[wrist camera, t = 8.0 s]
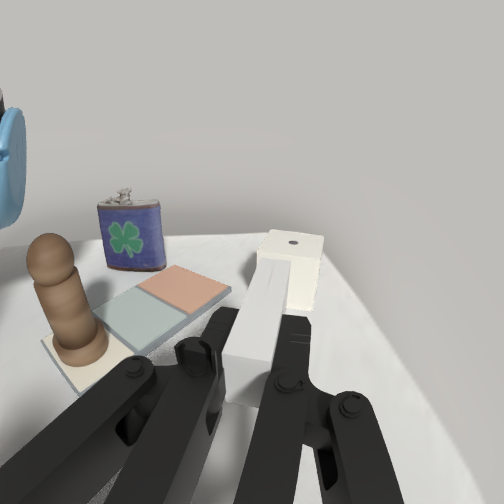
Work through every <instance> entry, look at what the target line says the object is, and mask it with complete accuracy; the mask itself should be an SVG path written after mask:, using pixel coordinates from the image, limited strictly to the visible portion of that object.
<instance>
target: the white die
mask: <svg viewBox="0 0 504 504" xmlns="http://www.w3.org/2000/svg"><path fill="white" fill-rule="evenodd" d="M323 240H324V236H320V235H312V234H305V233H297V232H289V231H281V230H273V229H271V230H270V232H269V233H268V235H267V236H266V238H265V239H264V241H263V242H262V244H261V245H260V247H259V248H258V250H257V265H258V263H259V260H260V258H269V259H278V260H287V261H291V266H290V276H289V286H288V296H287V306H286V307H287V308H293V309H299V310H305V311H312V312H313V307H314V301H315V296H316V289H317V283H318V277H319V270H320V263H321V256H322V248H323Z"/></svg>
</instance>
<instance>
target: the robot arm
mask: <svg viewBox="0 0 504 504" xmlns="http://www.w3.org/2000/svg"><path fill="white" fill-rule="evenodd" d="M25 184H26V128H25V120H24V116H23V115H22V111H21V110H20V109H19V108H13V107H11V108H9V109H8V110H5V109H4V102H3V94H2V90H1V89H0V229H2V228H5V227H8V226H10V225H12V224H13V223H14V222H15V221H16V220H17V219H18V217H19V215H20V213H21V210H22V207H23V202H24V195H25ZM290 266H291V261H287V260H278V259H269V258H260V260H259V263H258V265H257V268H256V270H255V273H254V275H253V278H252V280H251V283H250V285H249V288H248V290H247V293H246V295H245V297H244V300H243V302H242V305H241V307H240V309H235V308H228V307H220V308H219V309H218V310H217V311H215V312H214V313H213V314H212V316H211V318H210V320H209V323H208V324H207V326H206V328H205V330H204V331H203V333H202V335H201V337H189V338H185V339H183V340H181V341H179V342H178V343H177V344H176V345H175V346H174V349H175V353H176V357H177V362H178V364H177V365H171V366H153V364H152V362H151V361H150V360H149V359H148V358H147V357H144V356H141V355H133V356H130V357H127V358H125V359H123V360H122V361H121V362H119V363H118V364H117V365H116V366H115V367H114V368H113V369H111V370H110V371H109V372H108V373H107V374H106V375H105V376H103V377H102V378H101V379H100V380H99V381H98V382H97V383H95V384H94V385H93V386H92V387H91V388H90V389H89V390H87V391H86V392H85V393H84V394H83V395H82V396H81V397H80V398H78V399H77V400H76V401H75V402H74V403H73V404H72V405H70V406H69V407H68V408H67V409H66V410H65V411H64V412H63V413H61V414H60V415H59V416H58V417H57V418H56V419H55V420H53V421H52V422H51V423H50V424H49V425H48V426H47V427H46V428H44V429H43V430H42V431H41V432H40V433H39V434H38V435H36V436H35V437H34V438H33V439H32V440H31V441H30V442H29V443H27V444H26V445H25V446H24V447H23V448H22V449H21V450H20V451H18V452H17V453H16V454H15V455H14V456H13V457H12V458H11V459H9V460H8V461H7V462H6V463H5V464H4V465H3V466H2V467H1V468H0V504H87V503H88V502H89V501H90V500H91V499H92V498H93V497H94V496H95V495H96V494H97V493H98V492H99V491H100V490H101V489H102V488H103V487H104V486H105V485H106V483H107V482H108V481H109V480H110V479H111V478H112V477H113V476H114V475H115V474H116V473H117V472H118V471H119V470H120V469H121V468H122V467H123V468H122V470H121V472H120V474H119V476H118V478H117V479H116V481H115V483H114V485H113V487H112V489H111V491H110V493H109V495H108V497H107V499H106V501H105V503H104V504H190V501H191V498H192V496H193V493H194V490H195V488H196V485H197V482H198V480H199V477H200V474H201V471H202V469H203V466H204V463H205V460H206V458H207V455H208V452H209V449H210V447H211V444H212V441H213V438H214V435H215V432H216V430H217V427H218V424H219V421H220V418H221V415H222V403H223V400H224V397H225V398H226V402H229V403H234V404H239V405H245V406H250V407H256V408H259V411H258V415H257V419H256V423H255V427H254V431H253V435H252V439H251V442H250V446H249V450H248V454H247V457H246V461H245V465H244V468H243V472H242V475H241V479H240V482H239V486H238V489H237V492H236V496H235V499H234V503H233V504H293V501H294V496H295V490H296V484H297V478H298V472H299V465H300V458H301V451H302V444H305V445H307V446H310V447H312V448H313V452H314V457H315V463H316V468H317V474H318V480H319V485H320V491H321V497H322V503H323V504H404V501H403V498H402V494H401V491H400V488H399V484H398V481H397V478H396V475H395V471H394V468H393V465H392V462H391V459H390V456H389V453H388V450H387V447H386V444H385V441H384V438H383V435H382V433H381V430H380V427H379V424H378V421H377V419H376V416H375V413H374V410H373V408H372V405H371V403H370V402H369V400H368V398H366V397H365V396H364V395H362V394H360V393H357V392H354V391H345V392H342V393H339V394H337V395H336V396H334V395H331V394H328V393H325V392H323V391H321V390H319V389H318V388H316V387H315V386H314V385H313V384H312V383H311V381H310V379H309V375H308V369H309V355H310V340H311V324H310V322H309V320H308V318H307V317H303V316H294V315H286V314H285V312H286V306H287V296H288V286H289V276H290Z"/></svg>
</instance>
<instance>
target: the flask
mask: <svg viewBox="0 0 504 504" xmlns="http://www.w3.org/2000/svg"><path fill="white" fill-rule="evenodd" d="M117 192H118V193H119V194H120V197H117V198H116V199H115V198H111V197H110V198H109V199H108V200H105V201H103V202H100V203H99V204H98V206H97V210H98V216H99V223H100V229H101V234H102V240H103V247H104V253H105V257H106V262H107V267H108V268H111V269H115V270H121V271H135V272H136V271H138V272H145V271H146V272H154V271H162V270H164V269H165V267H166V257H165V251H164V242H163V235H162V226H161V215H160V204H159V201H158V200H138V201H130V195H129V193H130V192H131V189H129V188H126V189H119V190H117ZM111 199H113V200H111ZM164 265H165V267H164Z"/></svg>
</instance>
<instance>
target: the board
mask: <svg viewBox="0 0 504 504" xmlns="http://www.w3.org/2000/svg"><path fill="white" fill-rule="evenodd" d="M230 292H231V287H230V286H228V285H225V284H222V283H220V282H217V281H215V280H212V279H209V278H207V277H204V276H202V275H199V274H197V273H194V272H192V271H189V270H187V269H184V268H182V267H179V266H177V265H173V266H171V267H169V268H168V269H166V270H164V271H162V272H160V273H158V274H156V275H155V276H153V277H151V278H149V279H147V280H145V281H144V282H142V283H140V284H138V285H136V286H134V287H133V288H131V289H129V290H127V291H125V292H124V293H122V294H120V295H118V296H116V297H115V298H113V299H111V300H109V301H108V302H106V303H104V304H102V305H100V306H99V307H97V308H95V309H93V310H92V311H91V313H92V315H93V317H95V318H97V319H99V320H100V321H101V322H102V324H103V326H104V329H105V332H106V334H107V337H108V341H109V343H108V348H107V350H106V352H105V353H104V355H103V356H102V357H101V358H100V359H98V360H97V361H95V362H94V363H92V364H90V365H87V366H83V367H71V366H68V365H66V364H64V363H63V362H62V361H61V360H60V358H59V356H58V354H57V353H56V351H55V349H54V347H53V344H52V338H53V335H54V333H52V334H50V335H48V336H47V337H45V338H43V339H42V340H41V342H42V344H43V346H44V348H45V349H46V351H47V352H48V354H49V356H50V357H51V359H52V360H53V362H54V363H55V365H56V366H57V368H58V369H59V371H60V372H61V373H62V375H63V376H64V378H65V379H66V380H67V382H68V383H69V384H70V386H71V387H72V388H73V390H74V391H75V392H76V394H77V395H78V396H79V397H81V396H82V395H83V394H84V393H85V392H86V391H87V390H89V389H90V388H91V387H92V386H93V385H94V384H95V383H97V382H98V381H99V380H100V379H101V378H102V377H103V376H105V375H106V374H107V373H108V372H109V371H110V370H111V369H113V368H114V367H115V366H116V365H117V364H118V363H119V362H121V361H122V360H123V359H125V358H127V357H130V356H133V355H141V356H144V357H145V356H146V355H147V354H149V353H150V352H151V351H153V350H154V349H155V348H157V347H158V346H160V345H161V344H162V343H164V342H165V341H166V340H168V339H169V338H170V337H172V336H173V335H174V334H176V333H177V332H178V331H180V330H181V329H183V328H184V327H185V326H187V325H188V324H189V323H191V322H192V321H193V320H195V319H196V318H197V317H199V316H200V315H201V314H203V313H204V312H205V311H207V310H208V309H209V308H210V307H212V306H213V305H214V304H216V303H217V302H218V301H220V300H221V299H222V298H224V297H225V296H226V295H228V294H229V293H230Z"/></svg>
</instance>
